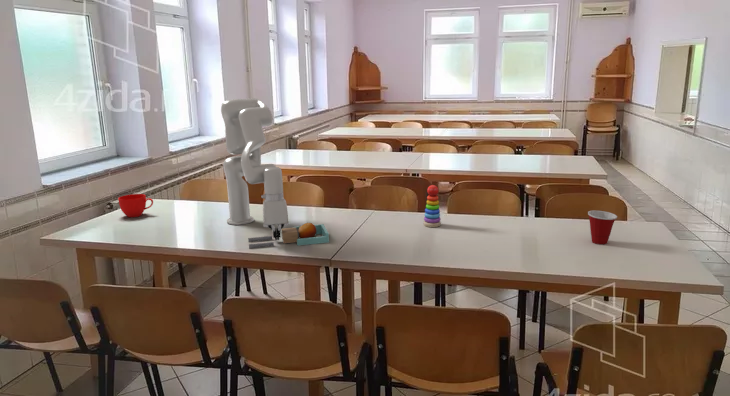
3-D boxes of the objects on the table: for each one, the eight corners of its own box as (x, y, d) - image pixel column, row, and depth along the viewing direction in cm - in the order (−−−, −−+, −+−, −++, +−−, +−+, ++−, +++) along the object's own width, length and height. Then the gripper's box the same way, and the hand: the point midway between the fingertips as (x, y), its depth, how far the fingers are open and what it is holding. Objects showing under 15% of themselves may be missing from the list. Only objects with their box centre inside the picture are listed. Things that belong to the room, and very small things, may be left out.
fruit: (319, 238, 226) (309, 222, 224) (304, 247, 227) (293, 232, 226) (322, 232, 234) (311, 217, 232) (306, 241, 235) (296, 226, 233)
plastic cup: (612, 248, 208) (615, 218, 205) (583, 244, 214) (585, 215, 211) (616, 240, 217) (619, 211, 214) (588, 236, 223) (590, 208, 220)
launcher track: (248, 241, 229) (248, 238, 229) (272, 239, 231) (272, 235, 231) (249, 248, 220) (248, 245, 219) (273, 246, 222) (273, 242, 222)
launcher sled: (282, 238, 231) (281, 228, 230) (297, 237, 232) (297, 227, 231) (283, 243, 224) (282, 233, 223) (299, 241, 226) (298, 231, 225)
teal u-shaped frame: (293, 235, 236) (293, 226, 235) (323, 232, 238) (323, 224, 237) (297, 245, 222) (296, 236, 221) (329, 242, 225) (328, 233, 224)
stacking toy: (421, 226, 243) (421, 186, 239) (426, 222, 250) (426, 182, 246) (438, 228, 240) (438, 187, 236) (442, 223, 247) (443, 183, 243)
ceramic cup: (149, 218, 270) (147, 199, 267) (116, 219, 270) (113, 200, 268) (159, 211, 282) (157, 193, 280) (127, 212, 283) (125, 194, 280)
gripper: (256, 200, 217) (259, 243, 222) (293, 197, 220) (295, 240, 225) (255, 196, 224) (258, 238, 229) (291, 193, 228) (293, 235, 232)
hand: (277, 239), depth 227 cm, fingers closed
